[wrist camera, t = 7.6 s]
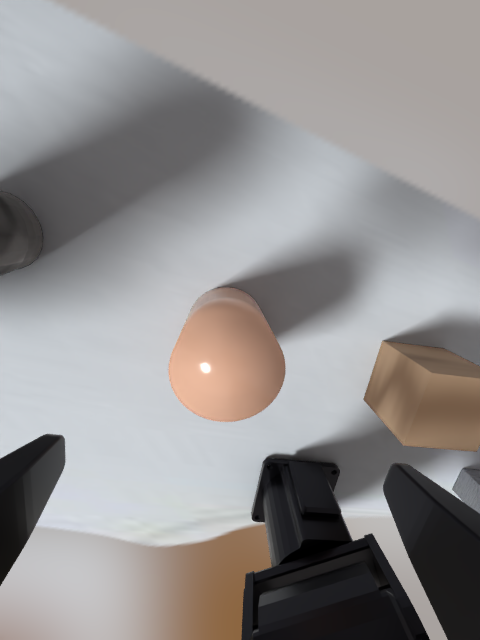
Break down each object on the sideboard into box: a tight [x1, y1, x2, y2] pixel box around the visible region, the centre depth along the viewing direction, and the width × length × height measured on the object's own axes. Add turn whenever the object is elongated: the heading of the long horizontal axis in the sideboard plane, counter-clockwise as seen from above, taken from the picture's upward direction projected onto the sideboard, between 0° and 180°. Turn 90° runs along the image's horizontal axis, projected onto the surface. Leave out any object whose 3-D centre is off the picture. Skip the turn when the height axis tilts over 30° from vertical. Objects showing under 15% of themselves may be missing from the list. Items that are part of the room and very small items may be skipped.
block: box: [363, 341, 480, 452], centre depth 18 cm, size 5×5×5 cm
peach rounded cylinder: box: [169, 287, 285, 422], centre depth 15 cm, size 5×5×7 cm
